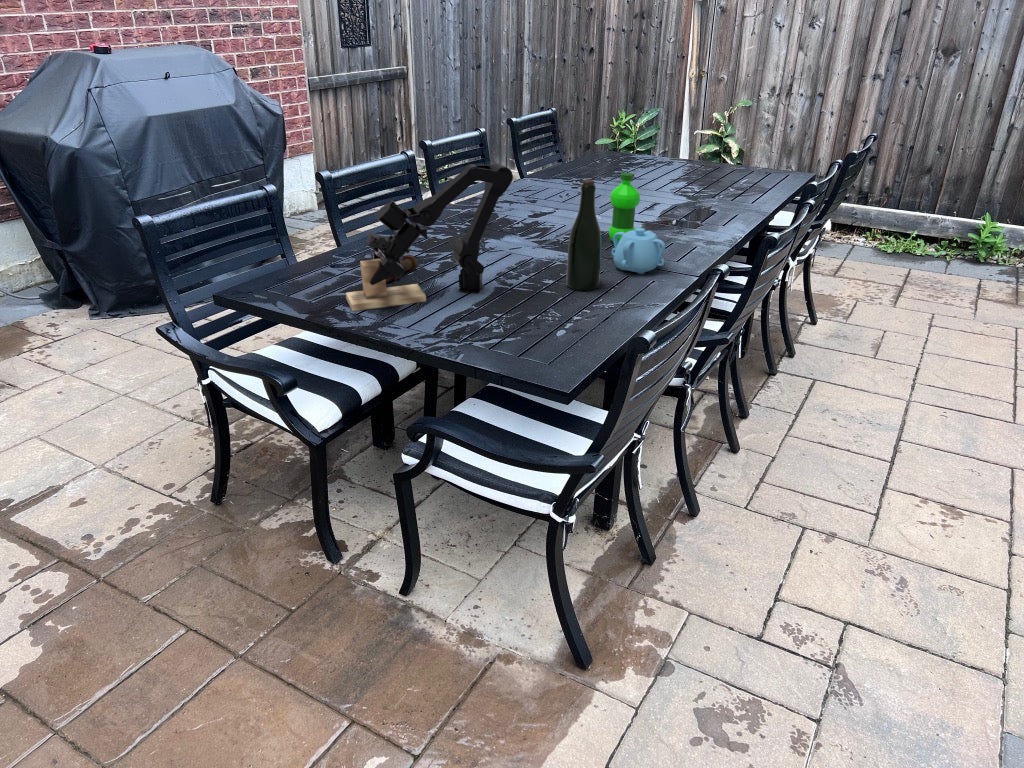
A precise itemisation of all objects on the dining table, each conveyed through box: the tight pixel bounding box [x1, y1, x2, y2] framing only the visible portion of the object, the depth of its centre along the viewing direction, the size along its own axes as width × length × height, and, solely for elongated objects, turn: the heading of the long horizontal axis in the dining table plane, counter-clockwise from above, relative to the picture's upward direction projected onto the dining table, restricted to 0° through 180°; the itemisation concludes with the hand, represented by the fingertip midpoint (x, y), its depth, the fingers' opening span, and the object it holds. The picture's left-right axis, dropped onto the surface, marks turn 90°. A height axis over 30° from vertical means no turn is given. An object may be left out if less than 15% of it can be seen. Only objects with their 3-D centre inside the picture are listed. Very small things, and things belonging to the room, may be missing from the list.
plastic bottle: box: [608, 172, 641, 243], centre depth 267 cm, size 10×10×25 cm
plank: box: [345, 283, 427, 312], centre depth 222 cm, size 22×10×2 cm, turn 111°
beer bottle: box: [565, 179, 602, 292], centre depth 227 cm, size 10×10×33 cm
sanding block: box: [359, 258, 387, 299], centre depth 218 cm, size 6×5×10 cm
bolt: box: [386, 254, 419, 283], centre depth 240 cm, size 6×5×15 cm
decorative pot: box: [610, 227, 666, 275], centre depth 246 cm, size 16×16×14 cm
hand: (369, 281), depth 218 cm, fingers closed on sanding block, 5 cm apart
